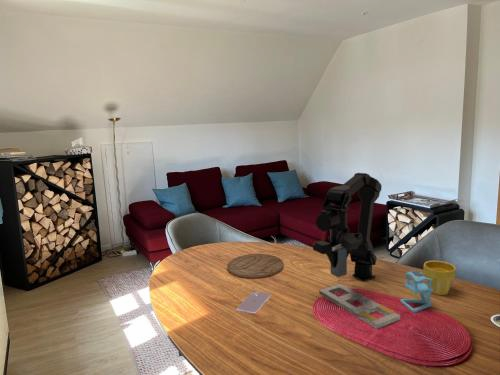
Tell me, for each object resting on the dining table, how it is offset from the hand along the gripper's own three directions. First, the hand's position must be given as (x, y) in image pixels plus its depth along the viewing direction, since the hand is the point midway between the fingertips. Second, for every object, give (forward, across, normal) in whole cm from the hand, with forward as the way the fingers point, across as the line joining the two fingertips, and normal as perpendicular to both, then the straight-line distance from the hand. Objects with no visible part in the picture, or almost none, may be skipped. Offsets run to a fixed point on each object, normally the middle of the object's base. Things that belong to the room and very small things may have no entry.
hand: (338, 266), depth 136 cm
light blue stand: (+12, +17, -20) cm, 29 cm away
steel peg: (+3, 0, 0) cm, 3 cm away
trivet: (+12, -12, +41) cm, 44 cm away
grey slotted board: (+12, 0, -9) cm, 15 cm away
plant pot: (+12, +32, -17) cm, 38 cm away
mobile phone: (+12, -28, +13) cm, 33 cm away
